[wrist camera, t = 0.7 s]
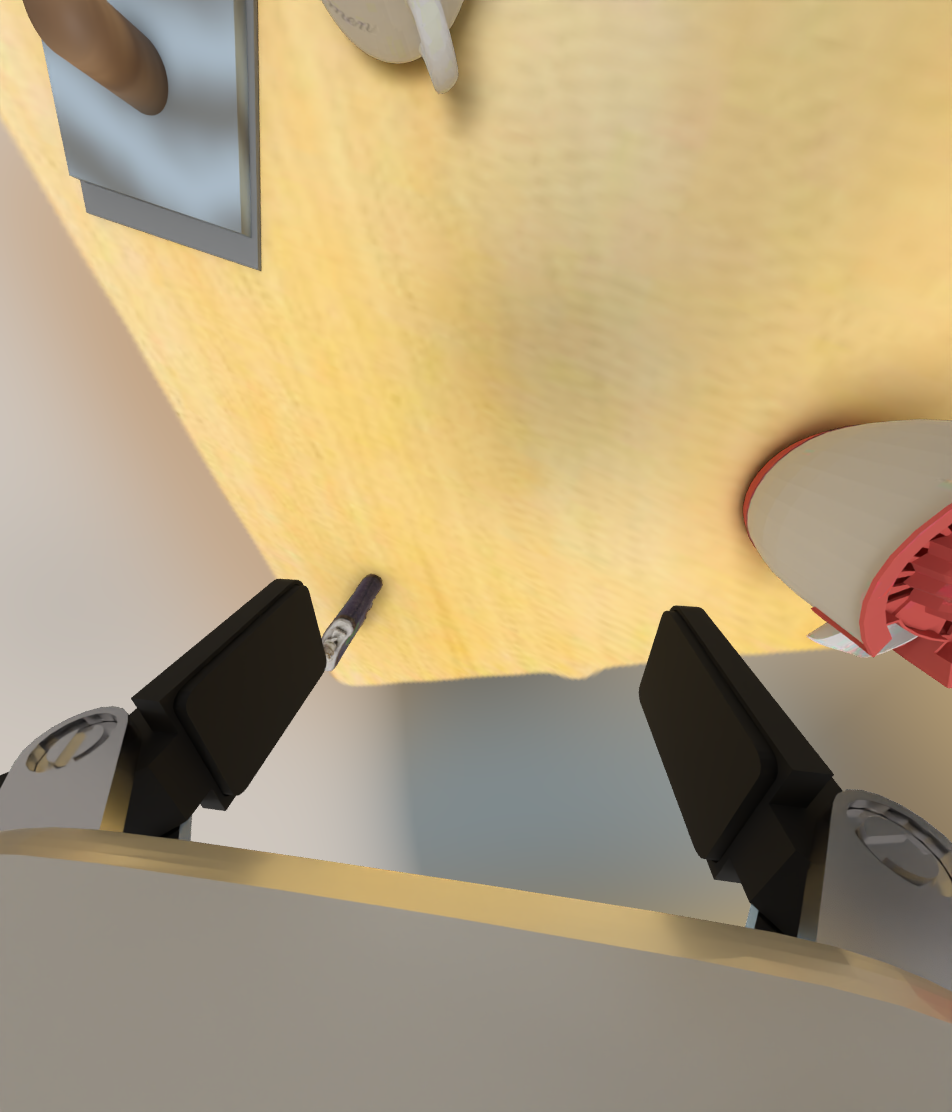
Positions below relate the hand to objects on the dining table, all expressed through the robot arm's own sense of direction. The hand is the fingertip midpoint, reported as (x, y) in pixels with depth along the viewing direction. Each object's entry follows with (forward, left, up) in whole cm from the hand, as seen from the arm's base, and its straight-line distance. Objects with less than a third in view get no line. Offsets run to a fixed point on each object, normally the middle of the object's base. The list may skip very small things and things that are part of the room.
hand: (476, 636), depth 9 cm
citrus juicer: (-4, +29, -29) cm, 41 cm away
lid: (-17, -33, -28) cm, 47 cm away
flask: (+24, -12, -29) cm, 40 cm away
